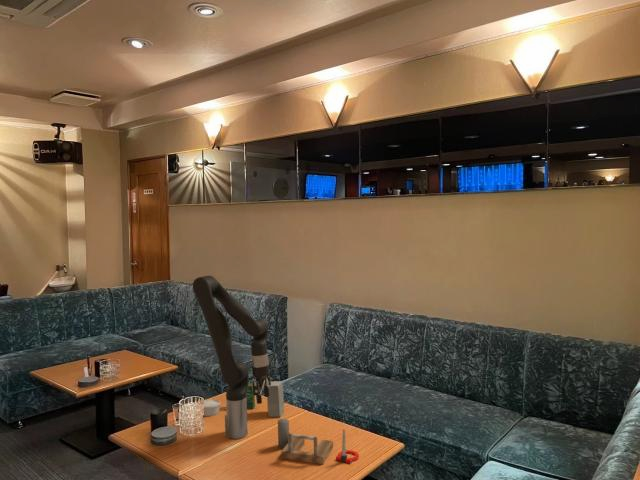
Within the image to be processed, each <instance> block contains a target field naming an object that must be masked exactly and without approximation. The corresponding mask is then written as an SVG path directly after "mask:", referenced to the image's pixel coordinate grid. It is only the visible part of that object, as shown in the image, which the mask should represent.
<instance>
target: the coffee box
mask: <svg viewBox="0 0 640 480" xmlns="http://www.w3.org/2000/svg"><path fill="white" fill-rule="evenodd" d="M255 397H256V395H253V382H248V390H247V409H251V410H254V409H255V408H256V400H255V399H256V398H255Z"/></svg>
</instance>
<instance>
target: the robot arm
mask: <svg viewBox="0 0 640 480" xmlns="http://www.w3.org/2000/svg"><path fill="white" fill-rule="evenodd" d="M192 290H193V291H192V292H193V294H194V296H195V298H196V300H197V302H198V304H199V307H200V308H201V309H200V310H201V312H202V315H203V317H204V319H205V323H206V327H207V330H208V332H209V335H210V339H211V341H212V343H213V347H214V350H215V353H216V356H217V359H218V364H219V368H220V373H221V376H222V380H223V381H224V382H225V384H227V385H228V389H227V391H226V393H225V399H226V400H225V405H226V407H225V408H226V414H225V415H224V429H225V430H224V431H225V432H224V433H225V437H227V438H229V439H233V440H237V439H243V438H245V437H246V436H247V435H248V433H249V432H248V408H247V390H248V383H249V370H248V367H247V364H246V363H245V362H244V361H241V360H236V361H235V359H234V355H233V349H232V343H233V341H232V339H233V337H232V336H233V335H232V331H231V330H232V329H231V327H230V325H229V322H228V319H227V318H226V316H225V315H224V314H223V312H222V311H221V310H220V308H218V306H217V305H216V302H215V300H214V299H216V300H217V301H218V302H219V303H220V304H221V305H222V307H223V309H224V310H225V312H226V313H227V314H228V315H229V316H230V317H231V318H232V319H233V320H234V321H236V322H237V323H239V325H240V326H241V327H242V329H243V330H244V332H245V333H246V334H247V335H249V336H251V337H253V340H252V342H251V344H250V350H251V369H252V376H254V378H255V381H252V383H253V395H255V397H256V398H255V399H256V400H255V401H256V404H257V405H261V404H262V403H263V398H262V397H263V396H264V397H265V398H267V397H269V387H270V386H269V385H271V381H272V380H271V373H270V363H269V362H270V361H269V355H268V347H267V346H268V345H267V341H268V333H269V329H268V328H269V327H268V323H267V321H266V320H265V319H263V318H257V319H254V318H253V317H252V313H251V311H250V310H249V309H248V308H246V307H245V305H243V304H241V303H240V302H239V301H238V300H236V298H234V296H232V295H231V294H230V293H229V291H227V290H226V288H225V287H224V286H223V285H222V284H221V283H220V282H219V281H218V279H217V278H216V277H214V276H212V275H204V276H199V277H197V278H195V279H193V283H192ZM262 391H263V392H262ZM262 393H263V394H264V395H263V396H262Z"/></svg>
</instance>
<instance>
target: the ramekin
mask: <svg viewBox="0 0 640 480" xmlns="http://www.w3.org/2000/svg"><path fill="white" fill-rule="evenodd" d="M220 408H221V401H220V400H219V399H214V398H208V399H204V416H203V417H212V415H213V416H216V415H217V414H218V413H220Z"/></svg>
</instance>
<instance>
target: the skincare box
mask: <svg viewBox="0 0 640 480" xmlns="http://www.w3.org/2000/svg"><path fill="white" fill-rule="evenodd" d="M283 385H284V384H283V381H281V380H278V381H275V380H274V381H272V380H271V385H269V386H270V387H269V397H266V400H267V401H266V402H267V403H266V404H267V417H270V418H271V417H272V418H281V416H282V415H283V414H284V412H285V404H284V403H285V402H284V400H285V399H284V389H283V387H284V386H283Z"/></svg>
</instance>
